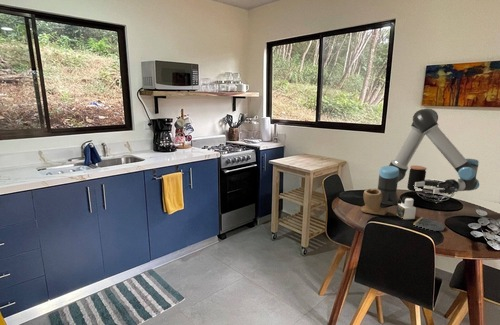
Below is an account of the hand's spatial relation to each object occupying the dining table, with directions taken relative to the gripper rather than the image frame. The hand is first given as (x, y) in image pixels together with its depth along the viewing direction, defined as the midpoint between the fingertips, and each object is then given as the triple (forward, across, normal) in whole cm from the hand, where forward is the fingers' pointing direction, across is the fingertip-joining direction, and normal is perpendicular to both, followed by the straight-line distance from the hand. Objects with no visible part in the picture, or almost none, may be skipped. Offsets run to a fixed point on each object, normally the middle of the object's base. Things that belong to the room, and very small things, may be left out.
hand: (424, 187), depth 168 cm
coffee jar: (-35, +43, -18) cm, 58 cm away
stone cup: (+25, +9, -18) cm, 32 cm away
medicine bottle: (+10, 0, -18) cm, 20 cm away
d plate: (+6, -13, -18) cm, 23 cm away
